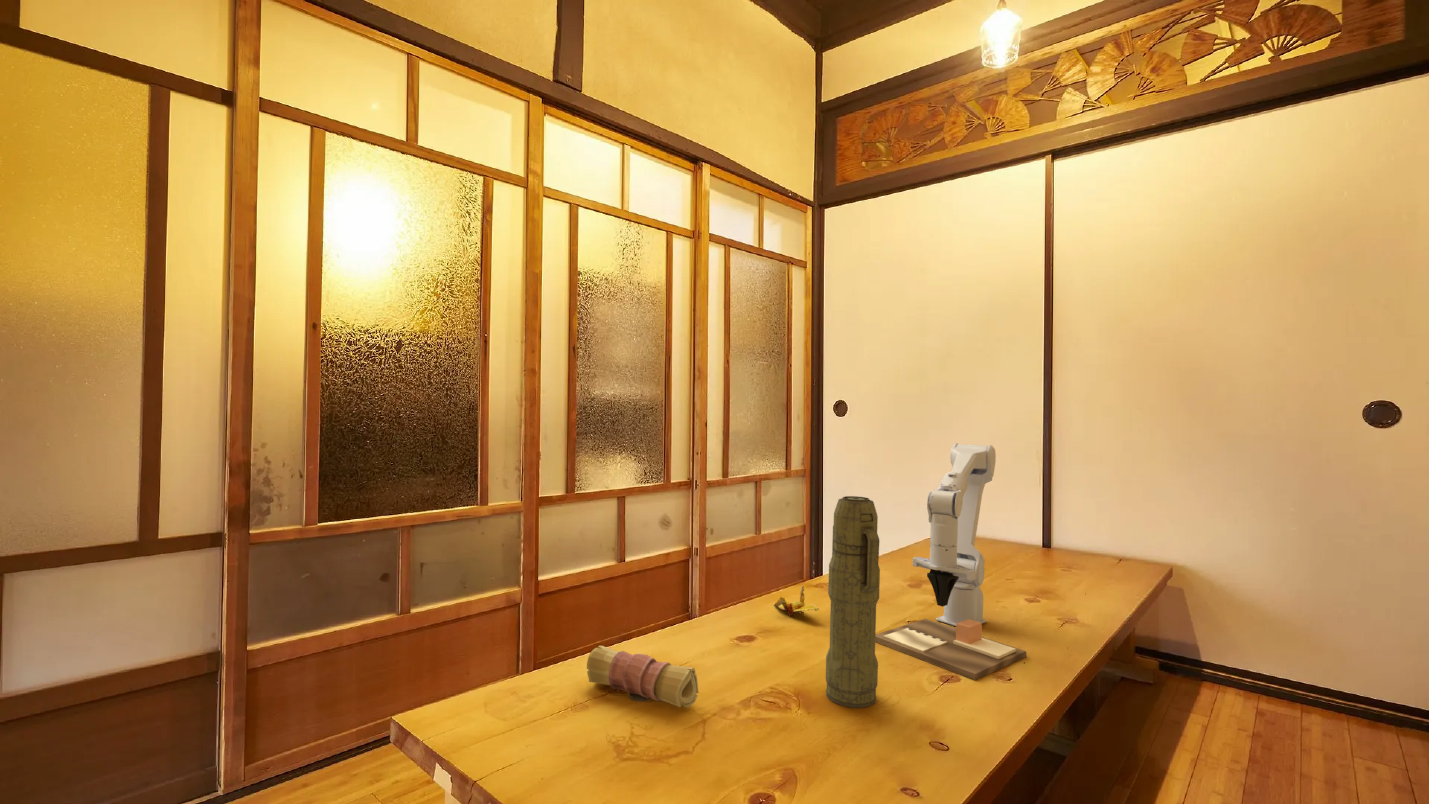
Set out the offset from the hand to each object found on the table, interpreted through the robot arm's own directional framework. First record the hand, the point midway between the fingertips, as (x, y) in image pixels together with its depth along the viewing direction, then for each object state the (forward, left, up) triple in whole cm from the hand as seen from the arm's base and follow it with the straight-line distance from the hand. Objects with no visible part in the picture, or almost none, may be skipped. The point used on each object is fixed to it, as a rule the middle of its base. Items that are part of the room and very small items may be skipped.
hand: (942, 605), depth 141 cm
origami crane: (+16, -30, -8) cm, 35 cm away
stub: (0, +10, -6) cm, 12 cm away
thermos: (+39, +7, -8) cm, 41 cm away
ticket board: (+4, +4, -8) cm, 9 cm away
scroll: (+69, -14, -8) cm, 71 cm away
